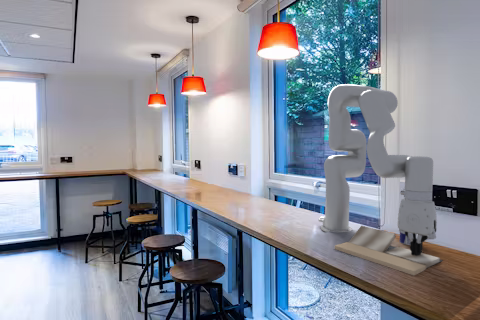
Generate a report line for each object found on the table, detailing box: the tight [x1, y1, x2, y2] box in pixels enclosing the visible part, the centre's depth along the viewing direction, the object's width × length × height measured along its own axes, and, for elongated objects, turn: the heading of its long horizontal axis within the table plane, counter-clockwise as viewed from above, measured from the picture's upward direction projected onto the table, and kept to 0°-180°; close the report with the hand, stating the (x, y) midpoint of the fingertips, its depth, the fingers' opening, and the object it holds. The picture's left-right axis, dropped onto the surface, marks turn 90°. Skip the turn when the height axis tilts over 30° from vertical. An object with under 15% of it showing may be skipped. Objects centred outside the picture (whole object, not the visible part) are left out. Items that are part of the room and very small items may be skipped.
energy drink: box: [399, 232, 418, 246], centre depth 115 cm, size 5×5×12 cm
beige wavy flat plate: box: [348, 225, 396, 253], centre depth 110 cm, size 12×9×1 cm
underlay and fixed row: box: [334, 241, 443, 276], centre depth 103 cm, size 26×21×2 cm
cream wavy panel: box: [385, 246, 441, 269], centre depth 100 cm, size 12×9×1 cm
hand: (416, 254), depth 100 cm, fingers closed
